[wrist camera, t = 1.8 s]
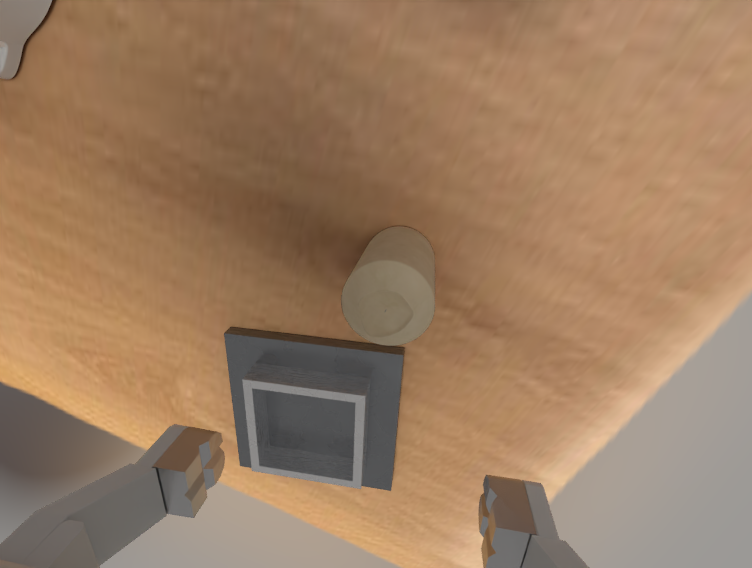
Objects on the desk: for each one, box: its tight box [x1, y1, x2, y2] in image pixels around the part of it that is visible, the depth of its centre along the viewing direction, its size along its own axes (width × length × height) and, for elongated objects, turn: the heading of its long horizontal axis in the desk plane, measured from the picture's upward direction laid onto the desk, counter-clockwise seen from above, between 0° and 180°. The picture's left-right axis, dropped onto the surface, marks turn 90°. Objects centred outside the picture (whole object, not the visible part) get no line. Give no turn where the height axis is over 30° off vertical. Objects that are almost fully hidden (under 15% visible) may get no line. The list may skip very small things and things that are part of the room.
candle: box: [341, 226, 435, 346], centre depth 25 cm, size 6×6×10 cm
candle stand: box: [224, 327, 404, 491], centre depth 35 cm, size 16×16×4 cm
